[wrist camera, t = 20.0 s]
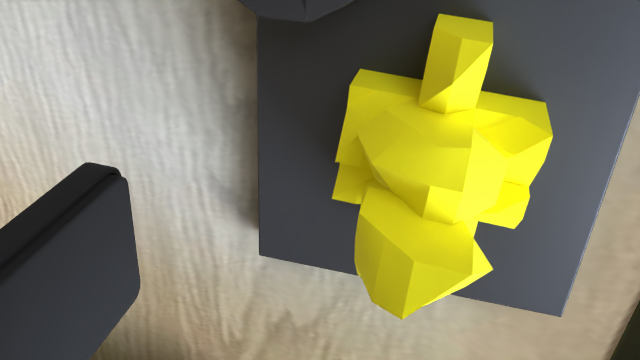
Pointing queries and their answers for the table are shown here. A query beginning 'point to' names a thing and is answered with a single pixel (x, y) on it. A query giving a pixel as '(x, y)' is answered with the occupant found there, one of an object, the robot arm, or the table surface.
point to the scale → (501, 78)
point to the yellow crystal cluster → (435, 167)
